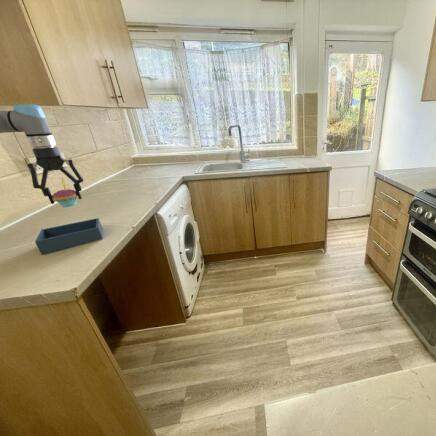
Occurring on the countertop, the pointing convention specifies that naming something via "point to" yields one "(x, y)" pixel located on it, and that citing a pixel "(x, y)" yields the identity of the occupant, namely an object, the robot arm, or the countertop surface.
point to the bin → (69, 235)
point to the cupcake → (65, 196)
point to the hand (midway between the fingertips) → (67, 200)
